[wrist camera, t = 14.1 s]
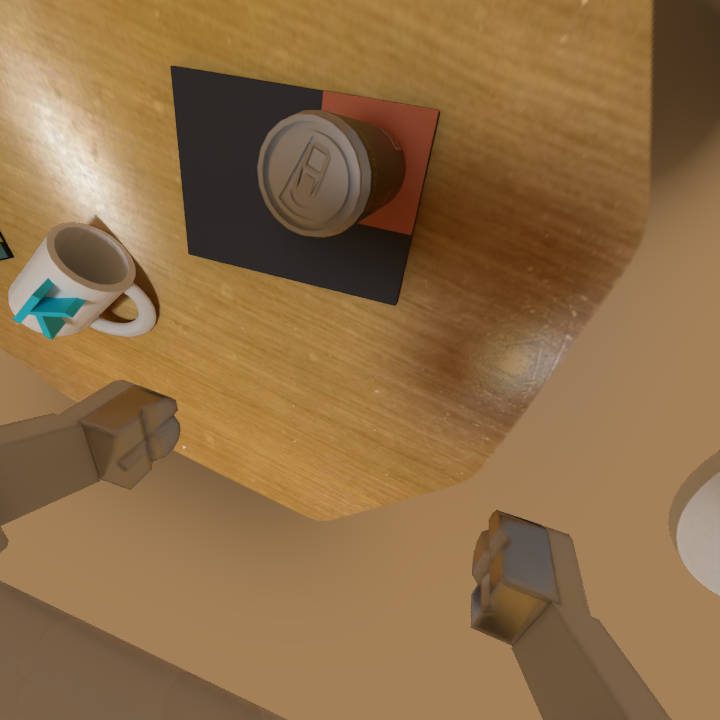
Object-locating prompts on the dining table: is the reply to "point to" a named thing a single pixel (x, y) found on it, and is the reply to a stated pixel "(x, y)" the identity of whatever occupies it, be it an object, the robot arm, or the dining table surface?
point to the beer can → (328, 171)
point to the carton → (4, 249)
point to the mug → (78, 284)
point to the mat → (244, 198)
